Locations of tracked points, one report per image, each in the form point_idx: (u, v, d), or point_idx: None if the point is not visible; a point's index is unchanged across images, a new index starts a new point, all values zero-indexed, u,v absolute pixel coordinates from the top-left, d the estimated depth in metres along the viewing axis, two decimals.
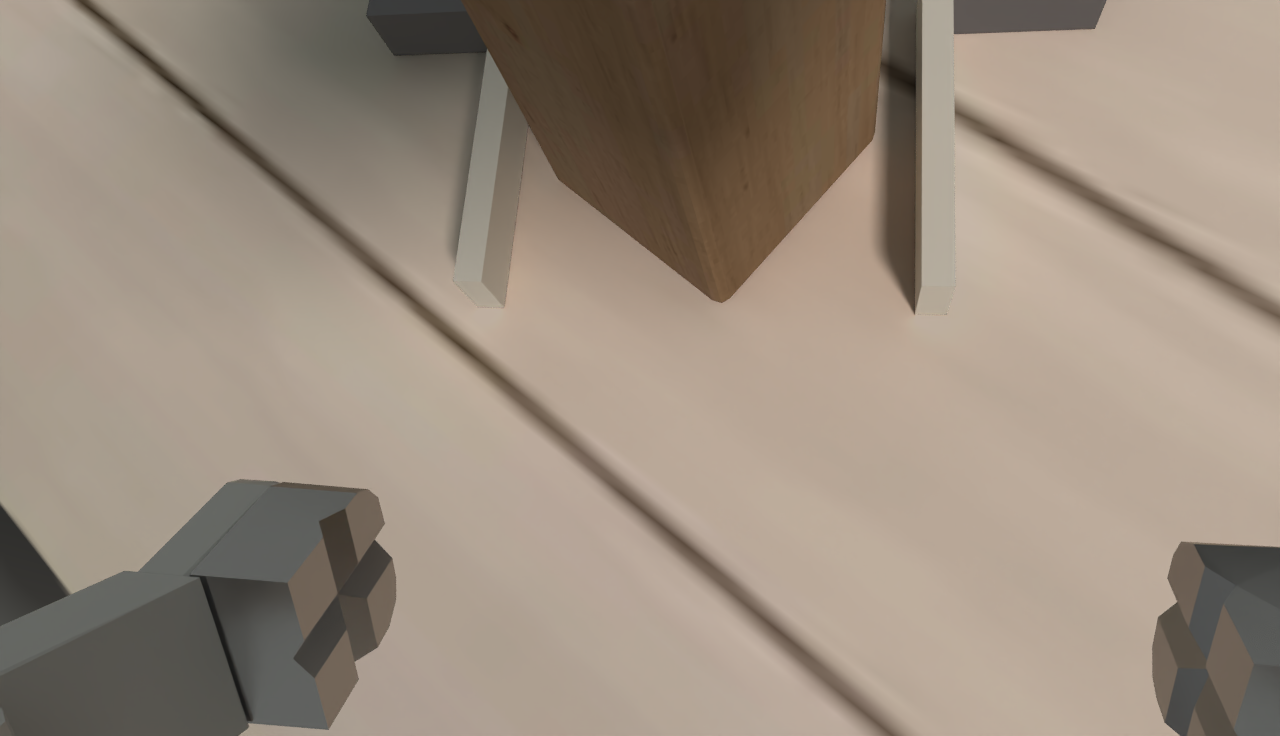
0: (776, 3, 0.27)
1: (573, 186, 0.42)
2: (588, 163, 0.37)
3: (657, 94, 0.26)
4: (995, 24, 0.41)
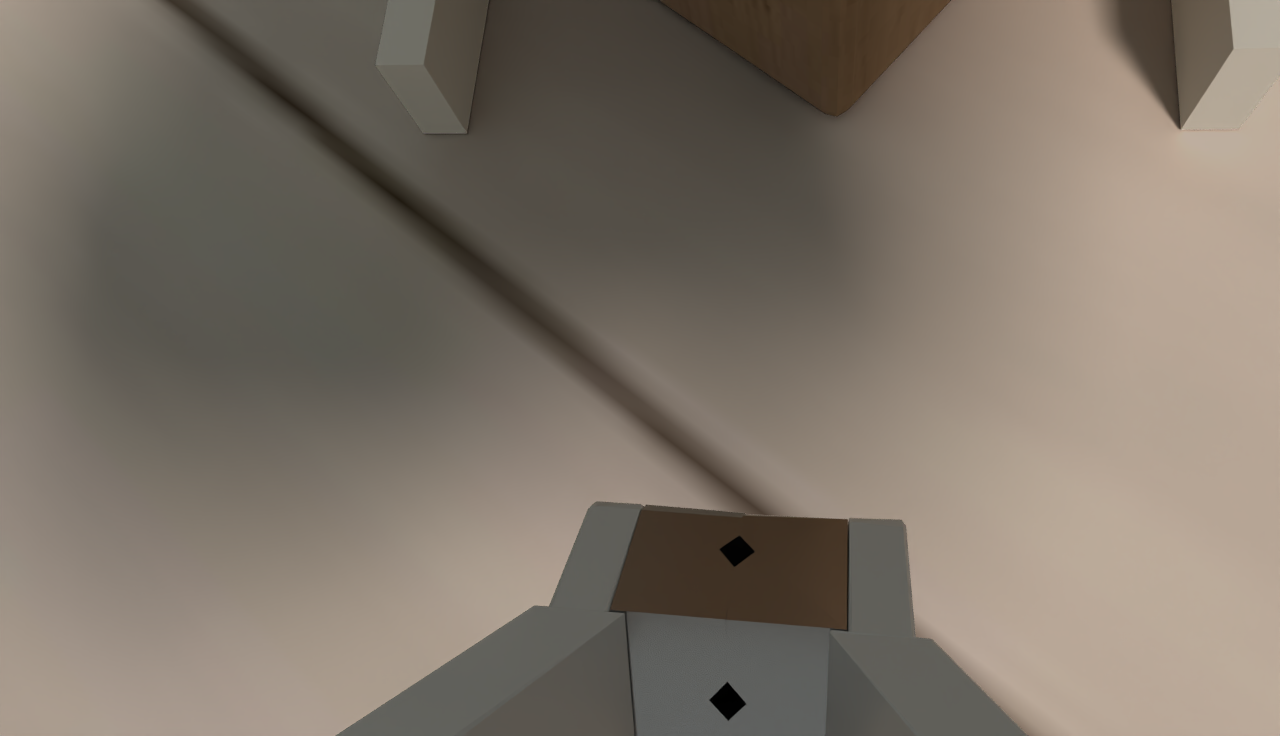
0: None
1: None
2: None
3: None
4: None
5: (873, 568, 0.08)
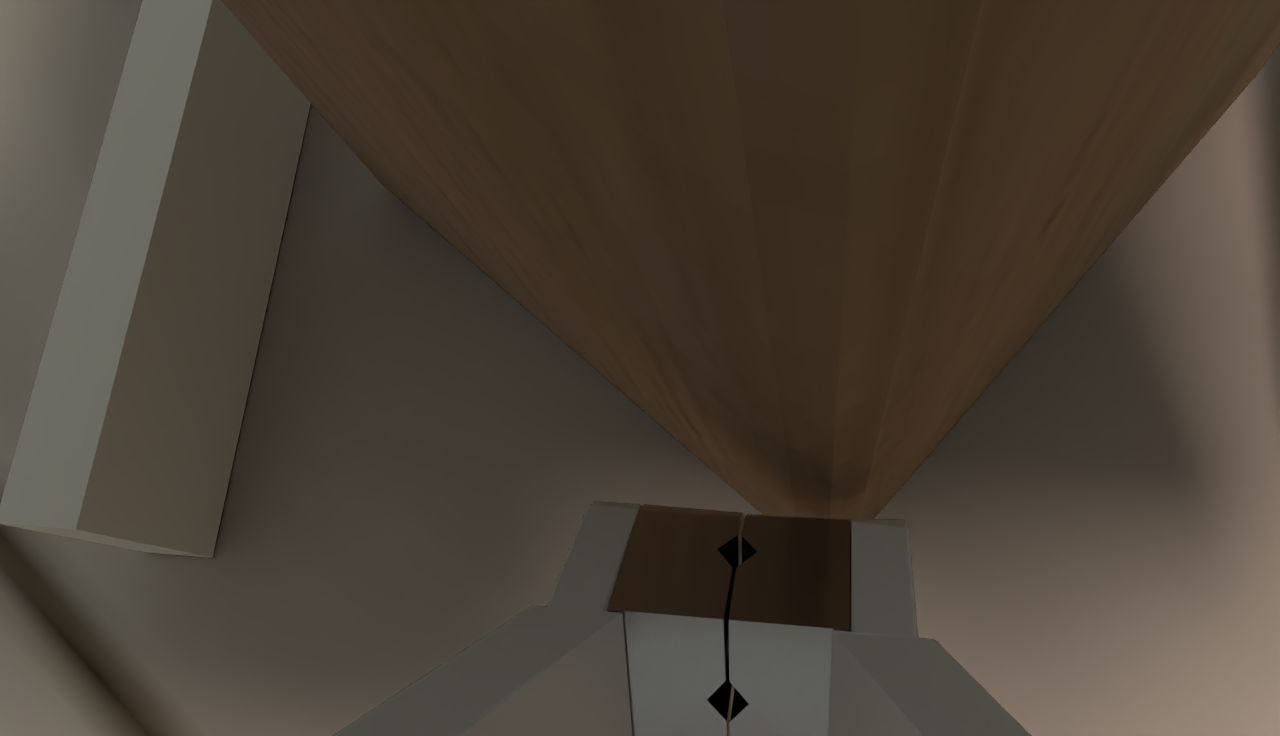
0: None
1: (408, 200, 0.15)
2: (381, 121, 0.10)
3: None
4: None
5: (876, 568, 0.08)
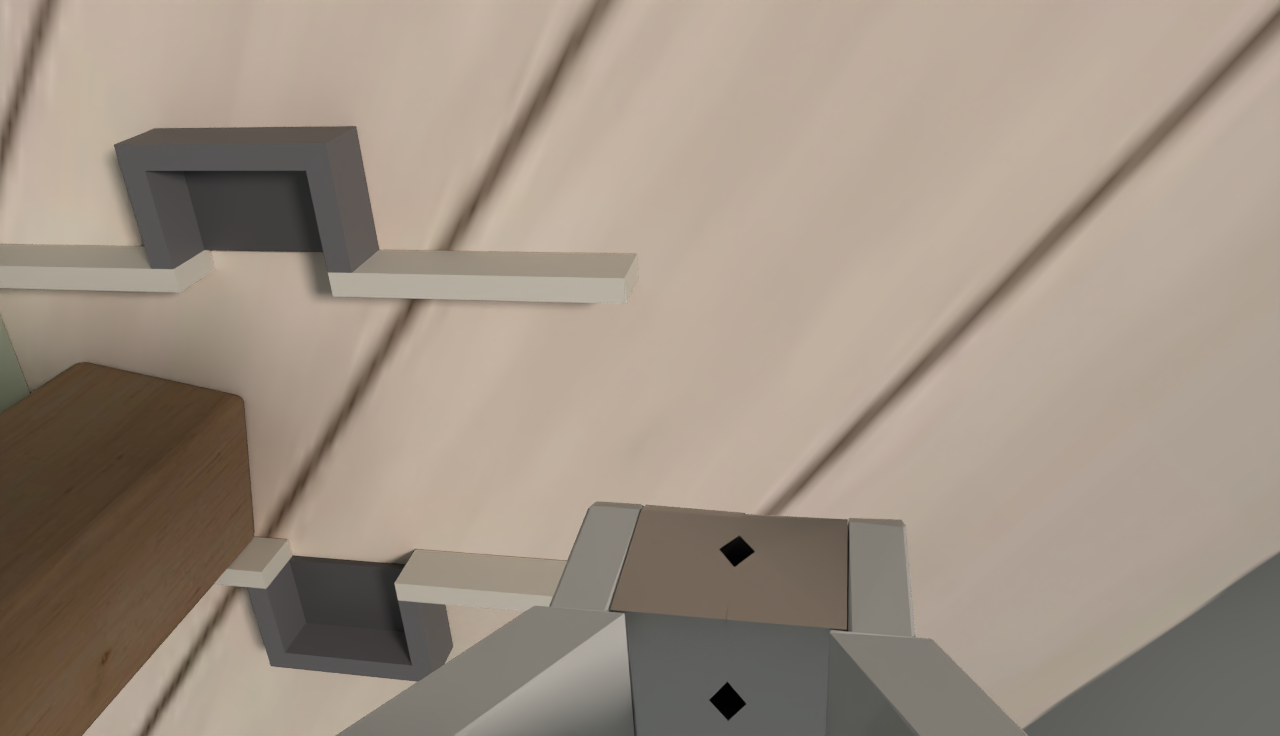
0: None
1: (245, 527, 0.56)
2: (193, 544, 0.51)
3: (38, 583, 0.40)
4: (366, 214, 0.46)
5: (873, 568, 0.08)
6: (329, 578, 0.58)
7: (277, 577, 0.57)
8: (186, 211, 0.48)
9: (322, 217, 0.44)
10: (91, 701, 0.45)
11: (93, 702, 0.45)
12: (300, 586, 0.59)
